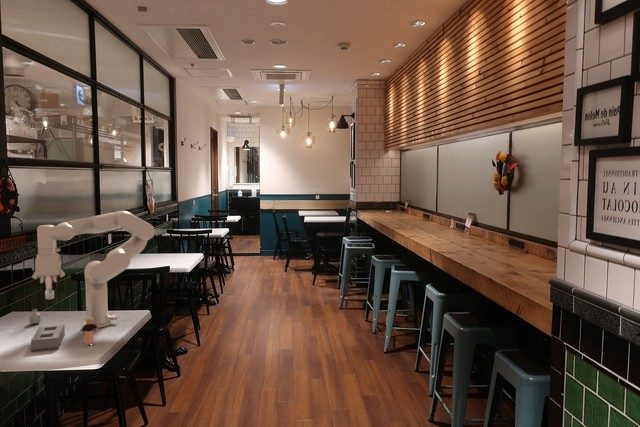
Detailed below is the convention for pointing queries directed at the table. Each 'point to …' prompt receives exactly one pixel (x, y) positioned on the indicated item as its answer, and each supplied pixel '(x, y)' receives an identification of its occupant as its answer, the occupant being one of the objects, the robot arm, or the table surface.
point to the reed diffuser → (34, 311)
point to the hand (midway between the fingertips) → (49, 290)
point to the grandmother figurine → (88, 331)
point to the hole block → (48, 338)
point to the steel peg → (49, 287)
